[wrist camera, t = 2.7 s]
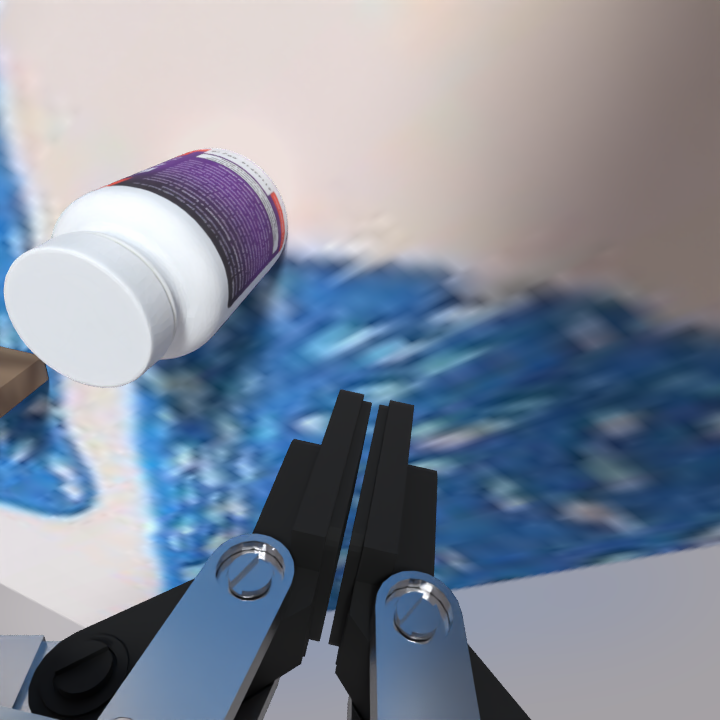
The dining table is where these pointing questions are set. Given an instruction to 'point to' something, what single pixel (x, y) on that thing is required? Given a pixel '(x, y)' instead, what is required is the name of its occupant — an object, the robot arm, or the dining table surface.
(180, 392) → the dining table surface
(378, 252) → the dining table surface
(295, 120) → the dining table surface
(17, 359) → the box
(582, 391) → the dining table surface
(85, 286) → the pill bottle
